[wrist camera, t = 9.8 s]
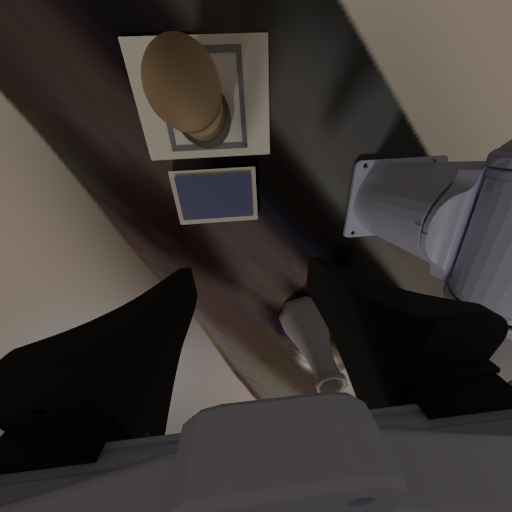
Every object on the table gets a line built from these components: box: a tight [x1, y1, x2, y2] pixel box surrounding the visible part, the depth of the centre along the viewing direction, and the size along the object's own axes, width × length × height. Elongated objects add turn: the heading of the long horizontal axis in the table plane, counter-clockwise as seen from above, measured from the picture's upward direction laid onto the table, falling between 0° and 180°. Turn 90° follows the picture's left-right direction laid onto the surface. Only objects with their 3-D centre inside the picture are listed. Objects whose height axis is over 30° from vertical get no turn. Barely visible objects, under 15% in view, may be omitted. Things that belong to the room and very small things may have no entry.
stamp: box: [141, 31, 231, 148], centre depth 13 cm, size 4×4×7 cm
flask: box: [278, 296, 347, 393], centre depth 23 cm, size 7×7×10 cm
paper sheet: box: [118, 33, 270, 161], centre depth 15 cm, size 11×8×1 cm
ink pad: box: [168, 167, 258, 225], centre depth 18 cm, size 8×5×1 cm, turn 93°
